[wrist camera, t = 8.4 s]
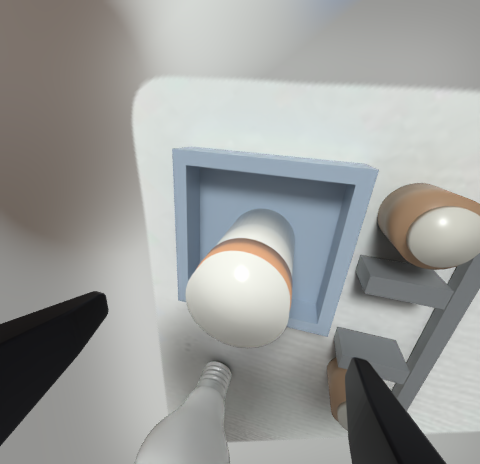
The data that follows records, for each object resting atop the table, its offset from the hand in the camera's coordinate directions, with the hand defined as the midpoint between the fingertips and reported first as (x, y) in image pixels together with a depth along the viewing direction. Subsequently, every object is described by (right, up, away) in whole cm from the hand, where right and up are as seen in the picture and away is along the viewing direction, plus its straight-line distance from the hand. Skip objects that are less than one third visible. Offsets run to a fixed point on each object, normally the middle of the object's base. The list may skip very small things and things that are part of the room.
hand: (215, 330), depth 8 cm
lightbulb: (-1, -9, +15) cm, 17 cm away
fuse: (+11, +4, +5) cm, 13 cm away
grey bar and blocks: (+11, -2, +8) cm, 14 cm away
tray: (+2, +3, +8) cm, 9 cm away
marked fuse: (+2, +3, +8) cm, 9 cm away
